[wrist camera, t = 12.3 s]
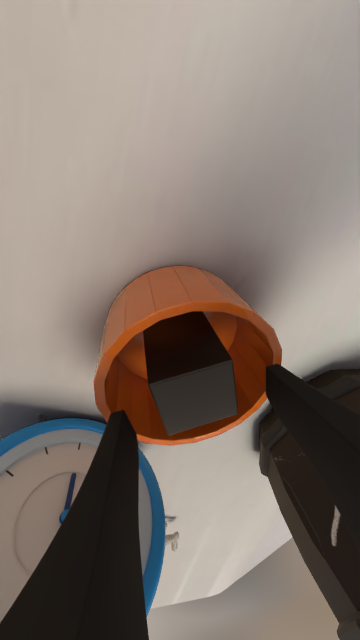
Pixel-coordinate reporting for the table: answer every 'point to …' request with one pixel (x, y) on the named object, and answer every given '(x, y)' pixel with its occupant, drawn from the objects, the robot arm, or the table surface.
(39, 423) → the alarm clock
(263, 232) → the table surface
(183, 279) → the cup
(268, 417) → the wooden barrel
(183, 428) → the block
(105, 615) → the robot arm
